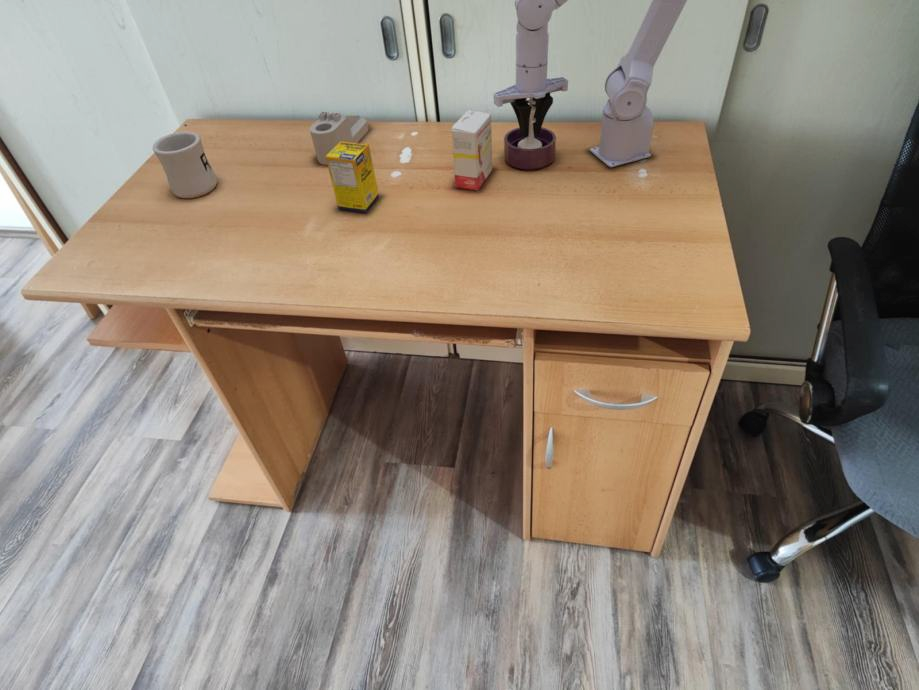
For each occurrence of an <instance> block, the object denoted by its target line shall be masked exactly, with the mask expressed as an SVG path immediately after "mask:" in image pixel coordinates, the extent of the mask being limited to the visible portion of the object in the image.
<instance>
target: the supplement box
mask: <svg viewBox="0 0 919 690" xmlns="http://www.w3.org/2000/svg"><path fill="white" fill-rule="evenodd" d="M326 161H327V165H326V166H327V168H328V173H329V176H330V181H331V185H332V189H333V193H334V196H335V201H336V204H337V208H338V210H343V211H349V212H356V213H363V214H367V212H368V211H369V210H370V209H371V207H372V206H373V204H374V203H375V202H376V201H377V200H378V199H379V197H380V195H379V191H378V185H377V179H376V174H375V169H374V168H375V167H374V164H373V158H372V154H371V149H370V144H369V143H360V142H358V143H351V142H342V141H341V142H339V143H338V144H337V145H336V146H335V147H334V148H333V149H332V150H331V151H330V152H329V153H328V154H327V155H326Z"/></svg>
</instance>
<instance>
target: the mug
mask: <svg viewBox="0 0 919 690" xmlns="http://www.w3.org/2000/svg"><path fill="white" fill-rule="evenodd" d="M152 151H153V153H154V154H155V156H156V158H157V159H158V161H159V163H160V164H161V167H162V169H163V171H164V174H165V176H166V179H167V181H168V186H169V188H170V190H171V192H172V194H173V195H175V196H176V197H179V198H181V199H194V198H199V197H202V196H205V195H207V194H209V193H210V192H211V191H213V190H214V189H215V188H216V186H217V184H218V177H217V175H216V173H215V171H214V170H213V168H212V166H211V164H210V162H209V160H208V158H207V155H206V153H205V150H204V146H203V143H202V139H201V136H200V135H199V134H198V133H196V132H193V131H177V132H173V133H170V134H166V135H165V136H162V137H160V138H158V139H157V140H156V141H155V142H154V143H153V145H152Z"/></svg>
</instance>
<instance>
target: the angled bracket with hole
mask: <svg viewBox="0 0 919 690" xmlns="http://www.w3.org/2000/svg"><path fill="white" fill-rule="evenodd" d="M368 131H369V124H368V121H367V119H366V118H365V117H361V116H360V115H357V114H348V115H347V114H345V115H341V112H332V113H329V111H328V112H327V111H321V112H320V113H319V114H318V119H317V120H316V121H315V122H314V123H313V124H312V125H311V126H310V127H309V132H310V136H311V139H312V144H313V147H314V151H315V156H316V159H317V162H318V163H319V164H321V165H324V166H328V165H327V161H326V155H327V154H328V153H329V152H330V151H331V150H332V149H333V148H334V147H335V146H336V145H337V144H338V143H339V142H341V141H342V142H351V143H360V141H361V139H362V138H363V137H364V136H365V135H366V134H367V133H368Z"/></svg>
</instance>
